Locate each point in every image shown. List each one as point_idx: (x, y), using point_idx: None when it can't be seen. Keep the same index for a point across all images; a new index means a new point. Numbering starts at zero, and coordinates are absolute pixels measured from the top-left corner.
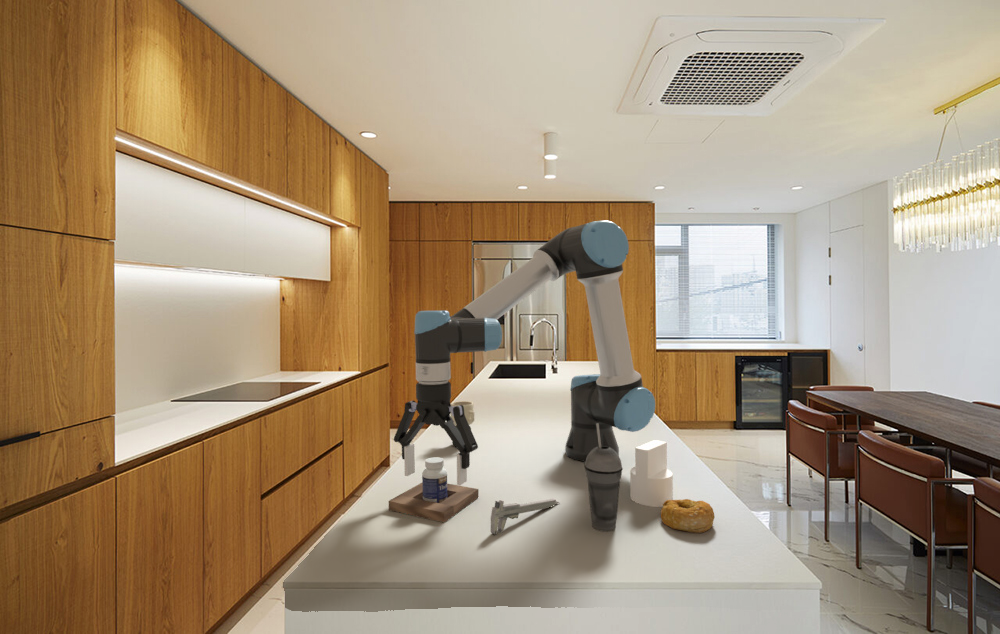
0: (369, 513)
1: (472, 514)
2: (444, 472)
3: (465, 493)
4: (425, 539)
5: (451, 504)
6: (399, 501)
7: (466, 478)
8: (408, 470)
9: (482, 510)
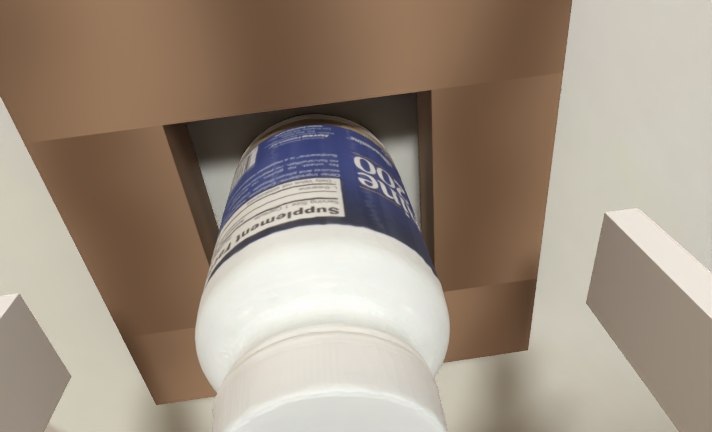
0: (127, 416)
1: (605, 178)
2: (448, 338)
3: (515, 80)
4: (510, 421)
5: (512, 269)
6: None
7: (654, 227)
8: (42, 406)
9: (647, 102)
